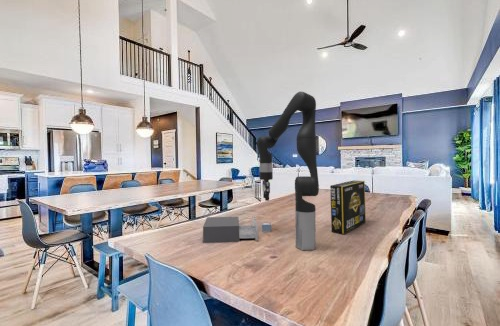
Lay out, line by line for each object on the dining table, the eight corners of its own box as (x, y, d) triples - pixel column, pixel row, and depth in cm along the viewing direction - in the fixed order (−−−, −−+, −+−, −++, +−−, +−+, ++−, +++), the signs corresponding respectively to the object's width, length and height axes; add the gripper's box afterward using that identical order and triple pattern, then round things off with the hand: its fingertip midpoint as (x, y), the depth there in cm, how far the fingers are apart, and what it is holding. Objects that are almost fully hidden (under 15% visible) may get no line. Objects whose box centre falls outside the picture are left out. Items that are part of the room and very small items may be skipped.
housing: (238, 230, 149) (238, 216, 149) (239, 241, 129) (239, 225, 129) (207, 231, 148) (207, 217, 148) (203, 242, 128) (203, 226, 128)
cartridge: (271, 231, 146) (271, 224, 146) (262, 231, 146) (262, 224, 146) (270, 229, 150) (270, 222, 150) (261, 229, 150) (261, 223, 150)
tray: (254, 229, 150) (254, 216, 149) (258, 240, 130) (258, 225, 129) (224, 230, 148) (223, 217, 148) (222, 241, 128) (222, 226, 128)
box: (344, 235, 138) (344, 185, 137) (329, 232, 144) (329, 184, 143) (366, 223, 163) (366, 181, 162) (353, 220, 168) (353, 180, 167)
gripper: (274, 171, 140) (274, 201, 141) (270, 170, 154) (270, 197, 155) (260, 172, 140) (261, 201, 140) (258, 170, 154) (258, 197, 154)
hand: (266, 199), depth 148 cm, fingers open, 8 cm apart
